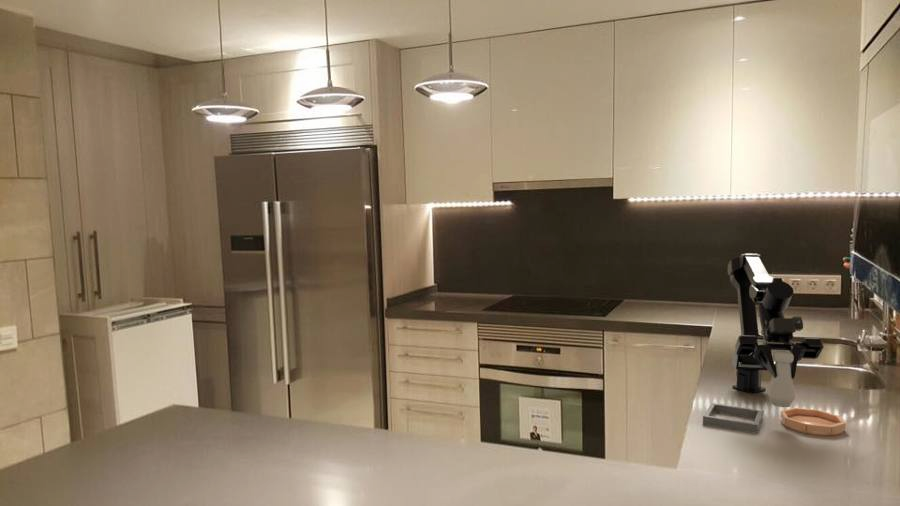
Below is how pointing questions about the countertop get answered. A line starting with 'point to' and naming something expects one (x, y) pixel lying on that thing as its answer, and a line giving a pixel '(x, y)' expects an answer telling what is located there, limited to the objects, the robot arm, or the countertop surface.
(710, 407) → the charcoal tray
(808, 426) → the terracotta dish
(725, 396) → the countertop surface
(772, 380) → the salt shaker
